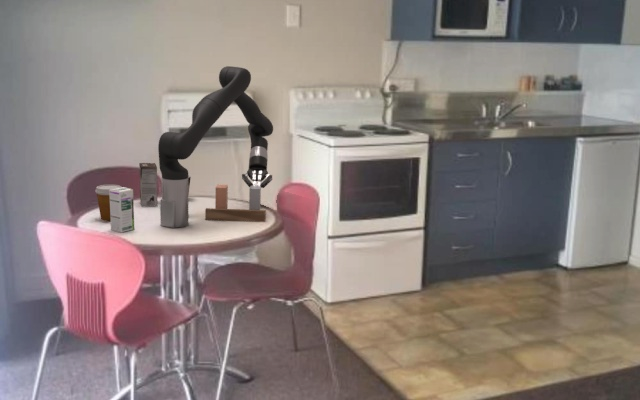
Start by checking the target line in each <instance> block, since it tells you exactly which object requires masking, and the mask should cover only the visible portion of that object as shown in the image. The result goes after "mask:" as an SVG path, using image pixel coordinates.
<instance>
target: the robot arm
mask: <svg viewBox="0 0 640 400" xmlns="http://www.w3.org/2000/svg"><path fill="white" fill-rule="evenodd" d="M251 80H252V74H251V72H250V71H249V70H248V69H247V68H244V67H239V66H227V65H226V66H223V67H222V68H221V69H220V71H219V74H218V81H219V84H220V86H221V88H219V89H218V90H214V91H212V92H210V93H208V94H206V95H205V96H203V97H202V99H201V100H200V101H198V103H197V104H196V105H195V106H194V107H193V109H192V113H191V115H192V116H191V124H190V126H189V127H188V128H187V129H186V130H185V131H184V132H173V131H165V132H163V133H162V134H161V136H160V137H159V139H158V140H159V141H158V147H157V148H158V151H157V152H158V161H159V162H158V163H159V170H160V172H161V199H160V200H159V205H160V206H159V207H160V208H159V209H160V210H159V212H160V216H159V217H160V219H159V220H160V226H162V227H166V228H171V229H176V228H184V227H187V226H188V225H189V196H188V175H189V170H188V169H187V168H186V167H184V166H183V165H181V163H180V162H179V160H186V159H188V158H189V157H190V156H191V155H193V153H194V151H195V150H196V148H197V147H198V146H199V144H200V142H202V141H201V140H202V139H203V138H204V137H205V135H206V133H208V131H209V130H210V129H211V128H212V126H213V125H214V124H215V123H216V122H218V120H219V119H220V118H221V117H222V115H223V113H224V112H225V111H226V110H227V109H228V108H229V107H230V106H231V105H232V104H233V103H235V104H236V105H237V107H238V108H239V110H240V111H241V113H242V115H243V117H244V118H245V121H246V122H247V123H248V127H247V131H248V135H249V137H250V139H249V140H250V151H249V158H248V170H247V172H246V173H242V174H241V178H242V179H241V180H243V181H244V183H245V184H246V185H247V186H248V188H250V186H261V189H264V188H265V187H267V185H269V184H270V183H271V182H272V181H273V174H269V172H268V158H269V156H268V150H269V149H268V148H269V147H268V146H269V143H268V142H269V141H268V140H267V139H266V138H265V137H268V136H272V134H273V131H274V125H273V123H272V121H271V120H270V119H269V118H268V117H267V116H266V115H265V114H263V113H262V111H261V109H260V108H259V105H258V104H257V102H256V101H255V100H254V99H253V98H252V97H251V96H250V95H248V94H247V93H246V90H247V89H248V88H249V86H250V84H251Z"/></svg>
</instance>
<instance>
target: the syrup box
mask: <svg viewBox="0 0 640 400" xmlns="http://www.w3.org/2000/svg"><path fill="white" fill-rule="evenodd" d="M109 196H110V216H111V221H110V230H111V231H114V232H117V233H121V234H122V233H125V232H128V231H134V230H135V209H134V205H135V204H134V189H133V188H129V187H126V186H125V187H124V186H123V187H122V186H121V188H117V189H111V190H109Z"/></svg>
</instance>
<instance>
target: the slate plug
mask: <svg viewBox="0 0 640 400" xmlns="http://www.w3.org/2000/svg"><path fill="white" fill-rule="evenodd" d="M261 190H262V188H261V186H257V185H256V186H250V187H249V195H248V198H249V199H248V202H249V203H248V204H249V205H248V206H249V207H248V210H261V202H262V201H261V199H262V196H261V193H262V191H261Z"/></svg>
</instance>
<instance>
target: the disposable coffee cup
mask: <svg viewBox="0 0 640 400" xmlns="http://www.w3.org/2000/svg"><path fill="white" fill-rule="evenodd" d="M121 187H122V186H121V185H119V184H101V185H98V186H96V188H95V191H94V192H95V194H96V198H97V204H98V210H99V215H100V220H101V221H103V222H104V221H105V222H111V216H110V196H109V190H111V189H117V188H121Z"/></svg>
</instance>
